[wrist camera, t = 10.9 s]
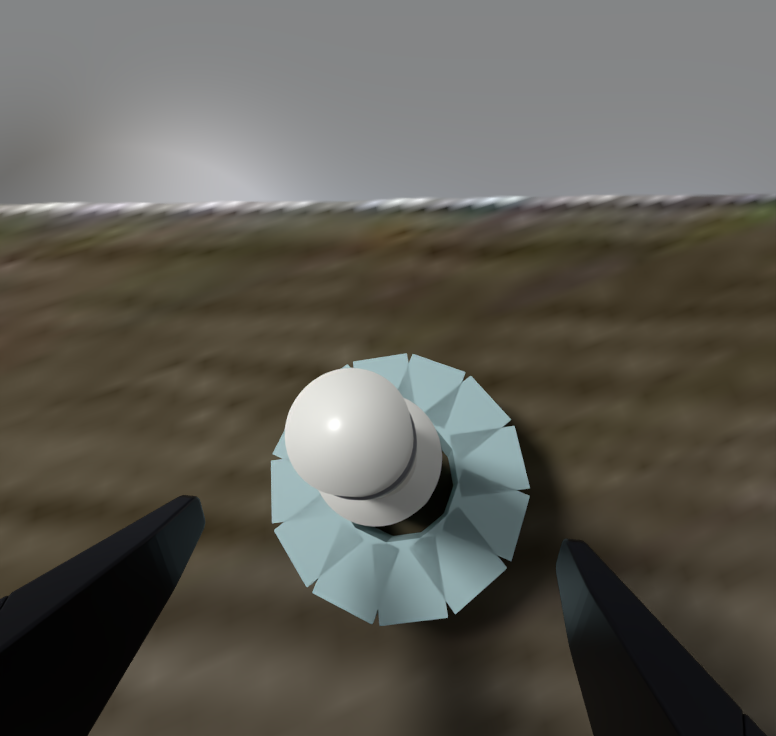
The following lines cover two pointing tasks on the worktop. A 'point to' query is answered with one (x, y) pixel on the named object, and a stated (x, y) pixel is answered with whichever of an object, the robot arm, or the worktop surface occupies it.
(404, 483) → the white rounded peg
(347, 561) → the pale blue segmented ring
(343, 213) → the worktop surface
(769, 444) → the worktop surface
